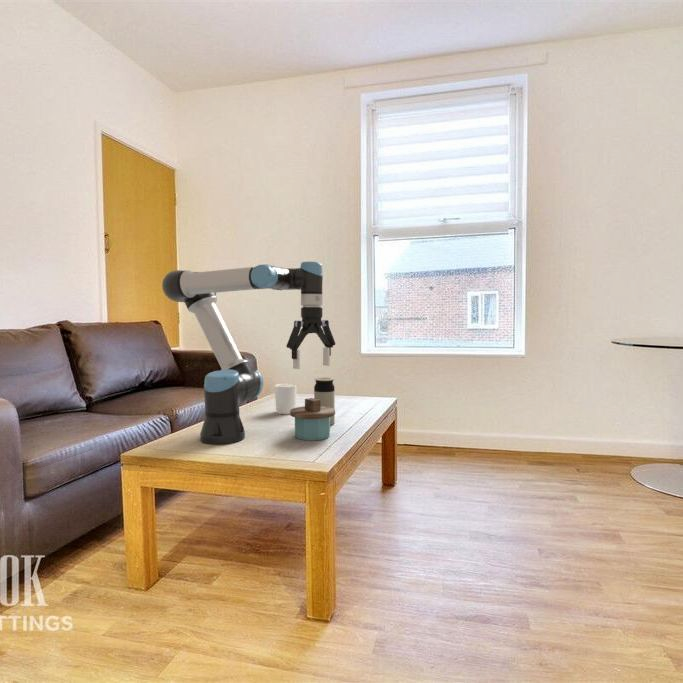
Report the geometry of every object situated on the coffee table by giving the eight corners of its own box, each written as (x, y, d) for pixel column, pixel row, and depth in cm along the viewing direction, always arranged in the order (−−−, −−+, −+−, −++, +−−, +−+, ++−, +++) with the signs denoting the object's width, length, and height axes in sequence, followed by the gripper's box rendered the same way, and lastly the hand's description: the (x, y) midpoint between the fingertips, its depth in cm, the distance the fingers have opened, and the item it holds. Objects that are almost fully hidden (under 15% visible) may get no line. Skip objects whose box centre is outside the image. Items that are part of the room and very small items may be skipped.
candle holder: (298, 409, 211) (298, 383, 210) (295, 414, 201) (295, 387, 200) (276, 409, 211) (276, 383, 210) (272, 414, 201) (272, 386, 201)
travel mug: (334, 426, 182) (334, 379, 180) (313, 426, 182) (313, 379, 181) (334, 421, 190) (334, 376, 188) (315, 421, 190) (314, 376, 189)
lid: (280, 413, 167) (280, 399, 167) (315, 407, 178) (315, 393, 178) (309, 421, 156) (309, 405, 155) (344, 413, 167) (344, 399, 166)
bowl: (289, 435, 168) (288, 413, 167) (315, 429, 176) (314, 408, 175) (310, 442, 159) (310, 419, 158) (336, 436, 167) (336, 414, 167)
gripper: (289, 306, 153) (289, 371, 155) (345, 306, 170) (344, 365, 172) (276, 306, 159) (276, 369, 160) (331, 306, 176) (331, 363, 177)
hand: (311, 367), depth 166 cm, fingers open, 13 cm apart
